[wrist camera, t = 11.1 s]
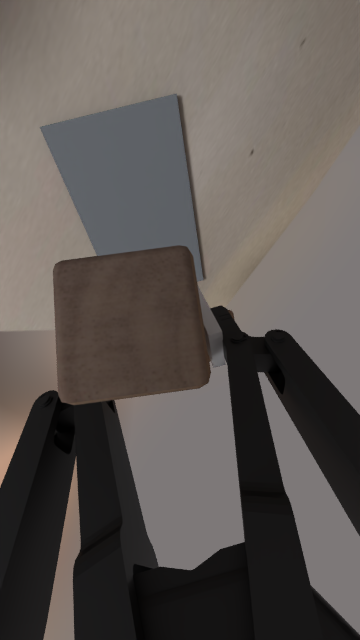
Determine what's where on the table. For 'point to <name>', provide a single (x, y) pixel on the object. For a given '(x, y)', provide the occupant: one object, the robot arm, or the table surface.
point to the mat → (128, 177)
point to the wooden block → (129, 325)
